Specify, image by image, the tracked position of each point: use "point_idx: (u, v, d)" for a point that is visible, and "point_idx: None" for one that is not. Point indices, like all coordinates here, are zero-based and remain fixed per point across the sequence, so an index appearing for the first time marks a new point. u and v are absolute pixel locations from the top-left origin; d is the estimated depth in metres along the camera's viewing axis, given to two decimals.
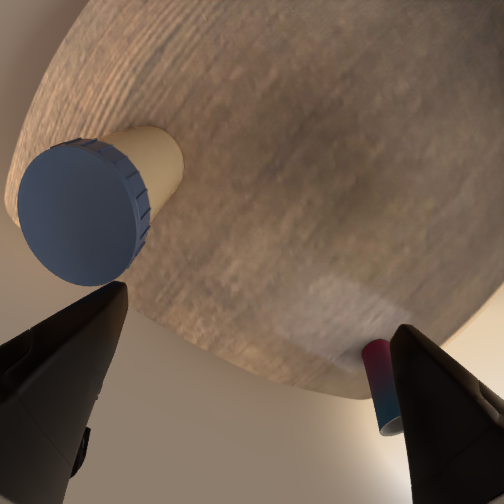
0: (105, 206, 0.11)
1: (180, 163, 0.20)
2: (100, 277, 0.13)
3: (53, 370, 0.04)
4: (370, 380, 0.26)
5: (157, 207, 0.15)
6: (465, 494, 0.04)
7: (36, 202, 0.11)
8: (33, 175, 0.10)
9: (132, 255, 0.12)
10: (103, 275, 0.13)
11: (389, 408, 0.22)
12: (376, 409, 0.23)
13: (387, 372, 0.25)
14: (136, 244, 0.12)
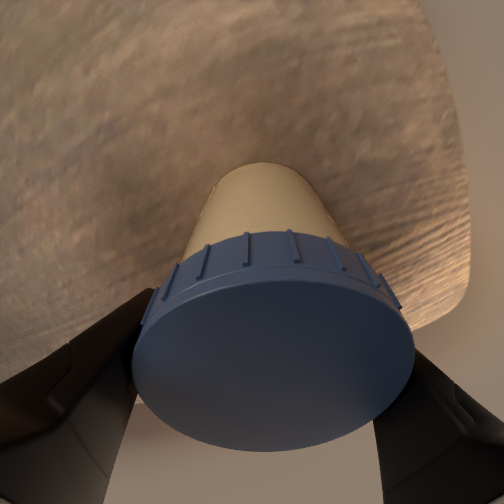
0: (183, 383, 0.06)
1: None
2: (318, 302, 0.05)
3: (100, 386, 0.05)
4: None
5: (204, 228, 0.09)
6: None
7: (307, 430, 0.07)
8: (276, 445, 0.08)
9: (186, 301, 0.05)
10: (306, 300, 0.05)
11: None
12: None
13: None
14: (164, 310, 0.05)
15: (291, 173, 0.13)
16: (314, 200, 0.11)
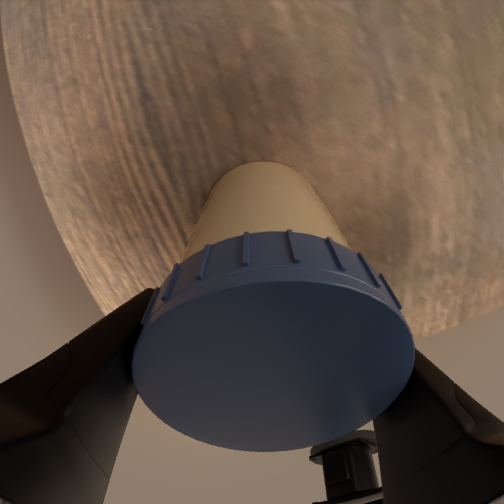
0: (183, 383, 0.06)
1: (301, 176, 0.14)
2: (318, 302, 0.05)
3: (100, 386, 0.05)
4: None
5: None
6: None
7: (307, 430, 0.07)
8: (276, 445, 0.08)
9: (186, 301, 0.05)
10: (306, 300, 0.05)
11: None
12: None
13: None
14: (164, 310, 0.05)
15: None
16: None
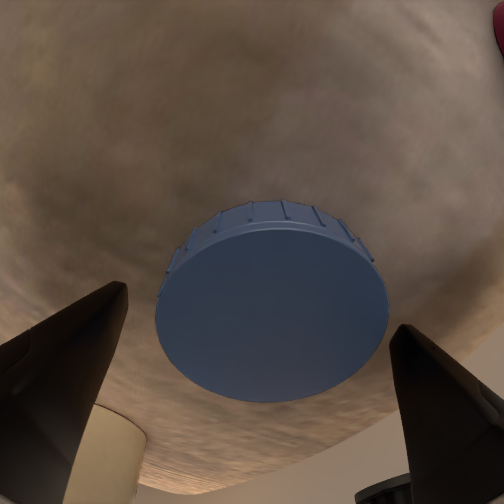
0: (198, 324, 0.08)
1: None
2: (304, 247, 0.07)
3: (53, 370, 0.04)
4: None
5: (71, 498, 0.08)
6: (465, 494, 0.04)
7: (301, 376, 0.09)
8: (275, 394, 0.10)
9: (206, 246, 0.07)
10: (295, 245, 0.07)
11: None
12: None
13: None
14: (188, 256, 0.07)
15: (139, 448, 0.14)
16: (133, 493, 0.11)
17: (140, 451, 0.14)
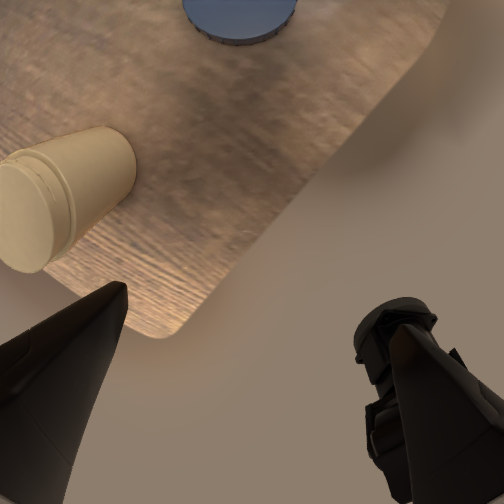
0: None
1: None
2: None
3: (53, 370, 0.04)
4: None
5: (57, 141, 0.12)
6: (465, 494, 0.04)
7: (256, 16, 0.13)
8: (242, 30, 0.14)
9: None
10: None
11: None
12: None
13: None
14: None
15: (129, 162, 0.18)
16: (111, 182, 0.15)
17: (129, 166, 0.18)
